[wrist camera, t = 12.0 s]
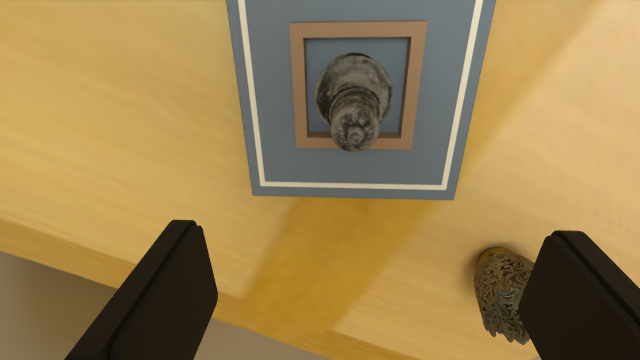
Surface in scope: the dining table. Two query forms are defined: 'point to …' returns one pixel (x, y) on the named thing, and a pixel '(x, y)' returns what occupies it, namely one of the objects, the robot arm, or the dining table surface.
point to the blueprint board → (406, 77)
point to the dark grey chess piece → (353, 100)
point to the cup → (502, 292)
